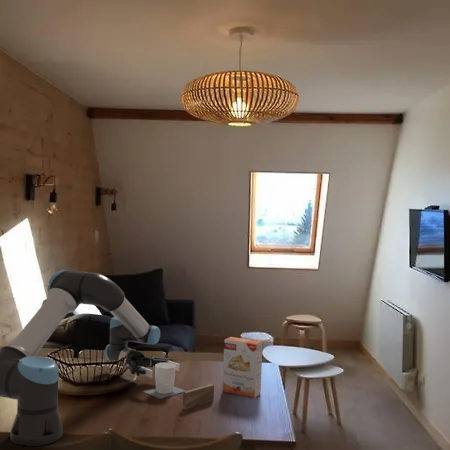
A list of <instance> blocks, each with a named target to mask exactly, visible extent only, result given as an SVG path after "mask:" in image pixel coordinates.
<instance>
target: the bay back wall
mask: <svg viewBox="0 0 450 450" xmlns="http://www.w3.org/2000/svg"><path fill="white" fill-rule="evenodd" d="M214 394H215V385H214V384H212V383H209V384H207V385H203V386H200V387H196V388H192V389H188V390H185V392H183V393H182V409H183V410H185V411H186V410H190V409H193V408H197V407H199V406H203V405H205V404H206V405H207V404H209V403H211V402H214V396H215V395H214Z"/></svg>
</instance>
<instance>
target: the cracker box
mask: <svg viewBox="0 0 450 450" xmlns="http://www.w3.org/2000/svg"><path fill="white" fill-rule="evenodd" d="M223 341H224V342H223V343H224V344H223V365H222V367H223V370H222V373H223V374H222V389H221V390H222V392H223V393H227V394H231V395H232V394H233V395H238V396H241V397H246V398H250V399H256V398H258V397H259V395H261V388H262V387H261V386H262V369H263V368H262V367H263V366H262V363H263V361H262V360H263V341H258V340H254V339H253V340H252V339H248V338H247V339H246V338H241V337H234V336H230V337H227V338H225V339H224V340H223Z"/></svg>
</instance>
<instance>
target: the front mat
mask: <svg viewBox="0 0 450 450" xmlns="http://www.w3.org/2000/svg"><path fill="white" fill-rule="evenodd" d="M185 391H186V389H183V388H180V387H177V386H174V391H173V392H172V393H168V394H161V393H158V392H156V387H154V388H152V389H151V388H150V389H146V390H144V391H143V393H144V394H146V395H149V396H152V397H154V398H157V399H159V400H163V399H165V398H168V397H171V396H176V395H179V394H183V392H185Z"/></svg>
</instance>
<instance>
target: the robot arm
mask: <svg viewBox="0 0 450 450" xmlns="http://www.w3.org/2000/svg"><path fill="white" fill-rule="evenodd" d="M46 296H47V299H46V300H45V302H44V303H43V304H42V306H41V307H39V309H38V310H37V311H36V312H35V314H34V315H33V316H32V318H31V319H30V320H29V321H28V322H27V324H26V325H25V326H24V327H23V329H22V330H21V331H20V332H19V333H18V335H17V336H16V338H14V340H13V341H12V342H11V343H10V345H3V346H1V347H0V397H1V398H6V399H7V398H8V399H12V400H16V405H17V406H16V407H17V408H16V415H15V418H14V420H13V423H12V427H11V429H10V433H9V434H10V437H9V439H10V442H12V443H13V444H15V445H17V444H19V445H18V446H22V445H27V446H26V447H39V446H44V445H49V444H52V443H54V442H57V441H59V439H61V438H62V437H63V435H64V434H63V429H64V427H63V424H62V423H63V422H62V421H61V418H60V414H59V412H58V401H59V400H58V399H59V398H58V395H59V379H60V378H59V377H60V375H59V366H58V364H57V362H56V360H53V359H52V358H49V357H46V356H42V355H39V356H37V354H38V353H39V351H41V349H42V348H43V346H44V345H45V343H46V342H47V341H48V340H49V338H50V337H51V336H52V335H53V333H54V332H55V330H57V328H58V327H59V325H60V324H61V322H62V321H63V320H64V318H65V317H66V316H67V314H69V313H73V312H75V311H76V310H77V308H78V307H79V305H90V306H91V305H92V306H96V307H100V308H102V309H103V310H104V311H106V312H110V314H112V316H113V317H112V318H110V321H109V322H110V324H109V344H107V345H106V347H105V349H104V351H103V352H104V353H103V354H104V357H105V359H106V360H107V361H109V362H111V361H112V360H120V359H121V358H122V357H125V356H129V357H128V359H127V360H126V367H125V368H126V369H128V371H130V374H132V375H135V374H136V375H135V376H139V377H140V375H142V376H145V377H147V378H150V379H152V378H153V375H154V370H152V369H150V368H153V367H155V365H156V364H158V363H173V364H175V365H176V369H175V372H176V371H177V372H180V368H181V367H180V366H181V364H180V363H177V362H174V359H173V358H168V357H167V358H166V357H158V356H154V355H152V356H150V357H148V356H145V355H144V353H143V352H142V351H138V350H136V349H133V348H130V347H128V344H129V342H131V343H132V342H133V343H137V344H145V345H156V344H158V343H159V341H160V338H161V330H160V328H159V327H158V326H156V325H150V324H149V323H148V322H147V320H145V318H143V316H142V315H141V313H140V312H139V311H137V309H136V308H135V307H134V306H133V305H132V304H131V302H130V301H129V300H128V299H127V298H126V296H125V292H124V290H122V288H120V286H119V285H117V284H116V282H114V281H112V280H111V279H110V278H109V277H107V276H105V275H103V274H101V273H98V272H91V271H79V270H73V269H72V270H71V269H65V270H64V269H62V270H59V271H57V272H55V273H54V274H53V275H52V276H51V277H50V279H49V281H48V285H47V295H46Z"/></svg>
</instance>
